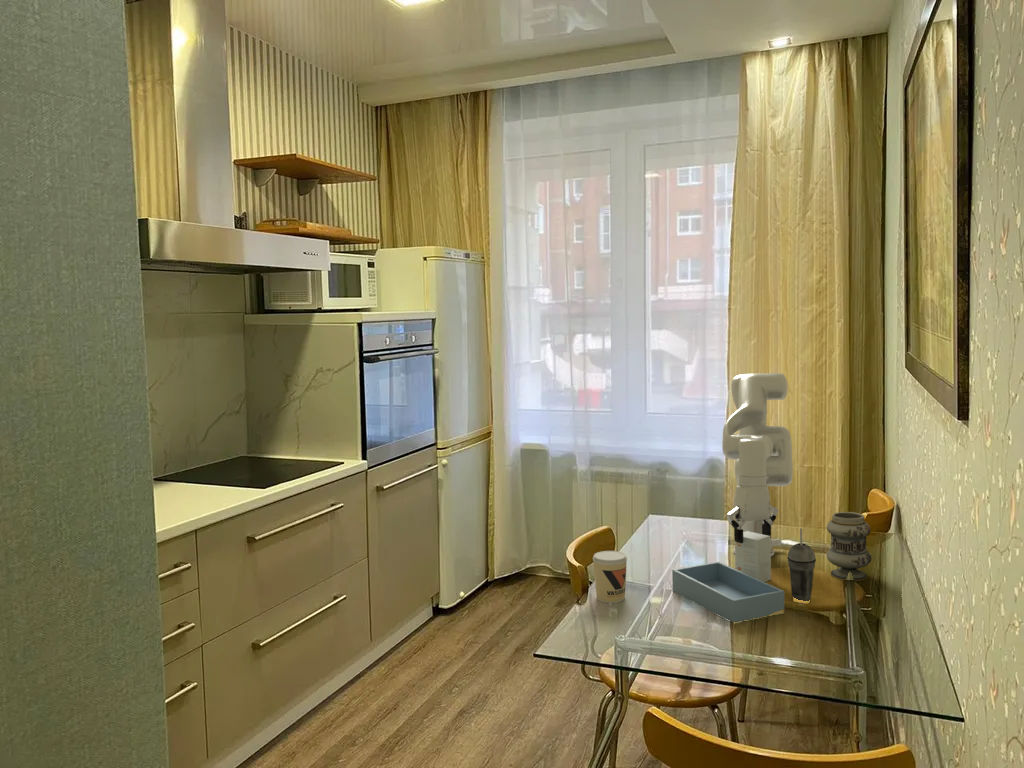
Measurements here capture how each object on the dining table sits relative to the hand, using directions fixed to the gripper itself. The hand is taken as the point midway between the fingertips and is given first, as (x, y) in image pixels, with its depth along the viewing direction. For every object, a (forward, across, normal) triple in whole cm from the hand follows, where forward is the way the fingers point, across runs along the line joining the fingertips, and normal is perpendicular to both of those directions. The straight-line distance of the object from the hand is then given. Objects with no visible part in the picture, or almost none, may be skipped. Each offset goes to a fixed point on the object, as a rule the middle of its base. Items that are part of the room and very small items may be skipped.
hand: (752, 540), depth 233 cm
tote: (+12, +17, +11) cm, 24 cm away
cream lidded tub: (+13, +43, -6) cm, 46 cm away
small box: (+12, -1, -1) cm, 12 cm away
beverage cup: (+12, -1, +19) cm, 23 cm away
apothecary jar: (+12, -27, +9) cm, 31 cm away
